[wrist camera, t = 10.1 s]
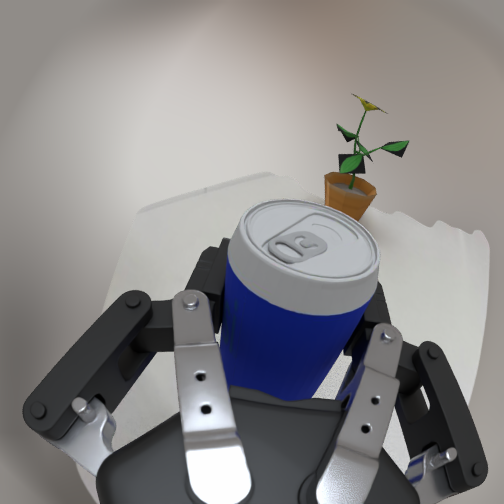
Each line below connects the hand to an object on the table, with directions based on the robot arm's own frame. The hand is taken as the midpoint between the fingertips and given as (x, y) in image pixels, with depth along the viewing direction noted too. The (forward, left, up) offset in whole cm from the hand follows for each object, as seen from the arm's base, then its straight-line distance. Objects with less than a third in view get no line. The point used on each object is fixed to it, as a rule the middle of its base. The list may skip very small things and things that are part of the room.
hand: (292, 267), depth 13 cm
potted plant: (+20, +49, -24) cm, 58 cm away
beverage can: (0, -3, -12) cm, 12 cm away
